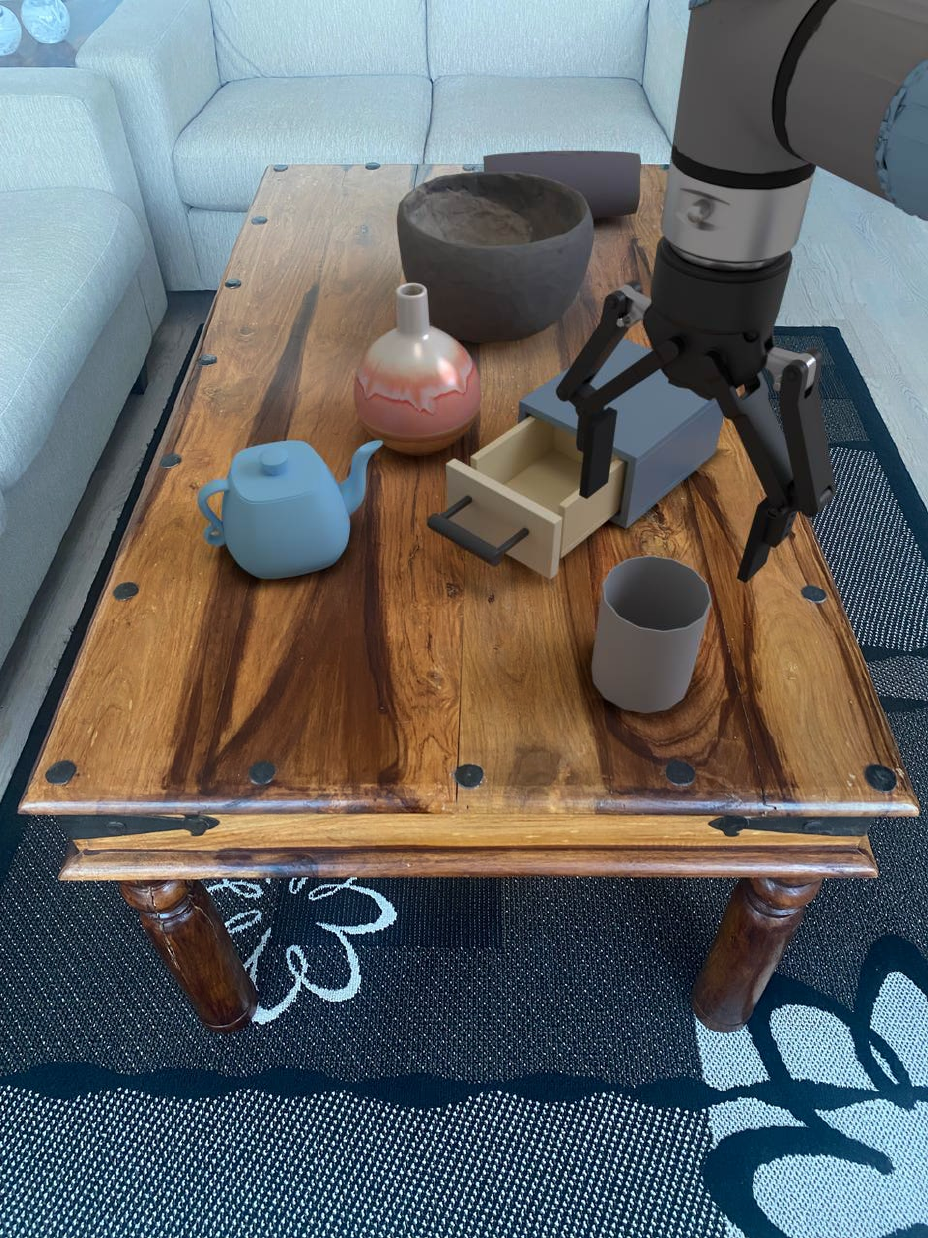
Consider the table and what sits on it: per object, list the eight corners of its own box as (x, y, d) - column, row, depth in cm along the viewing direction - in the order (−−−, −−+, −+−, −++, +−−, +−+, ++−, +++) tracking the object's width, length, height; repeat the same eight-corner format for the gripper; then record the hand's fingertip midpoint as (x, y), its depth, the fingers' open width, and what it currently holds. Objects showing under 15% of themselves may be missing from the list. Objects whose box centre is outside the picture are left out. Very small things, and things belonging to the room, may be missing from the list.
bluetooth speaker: (484, 236, 137) (484, 166, 130) (482, 209, 144) (482, 141, 137) (636, 233, 137) (644, 163, 130) (628, 207, 144) (636, 139, 136)
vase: (342, 421, 105) (322, 273, 92) (451, 392, 109) (447, 247, 96) (384, 489, 97) (369, 337, 84) (501, 456, 100) (504, 305, 88)
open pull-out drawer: (512, 611, 83) (514, 555, 78) (409, 546, 89) (405, 490, 84) (645, 499, 94) (655, 443, 89) (545, 448, 100) (548, 393, 95)
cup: (696, 713, 76) (719, 632, 69) (596, 713, 76) (608, 632, 69) (681, 637, 82) (700, 555, 75) (588, 637, 82) (599, 555, 75)
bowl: (449, 263, 132) (446, 152, 121) (611, 296, 124) (624, 182, 113) (365, 345, 117) (353, 227, 106) (544, 388, 109) (551, 267, 98)
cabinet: (625, 529, 92) (636, 458, 86) (516, 471, 99) (518, 400, 92) (715, 452, 100) (731, 382, 94) (609, 403, 107) (617, 335, 101)
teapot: (397, 475, 81) (190, 514, 78) (404, 564, 89) (216, 602, 86) (367, 398, 89) (179, 430, 86) (376, 485, 97) (204, 517, 94)
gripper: (512, 201, 55) (505, 480, 71) (912, 344, 44) (799, 641, 59) (587, 164, 59) (565, 437, 75) (974, 287, 48) (852, 580, 63)
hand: (668, 528), depth 67 cm, fingers open, 13 cm apart
